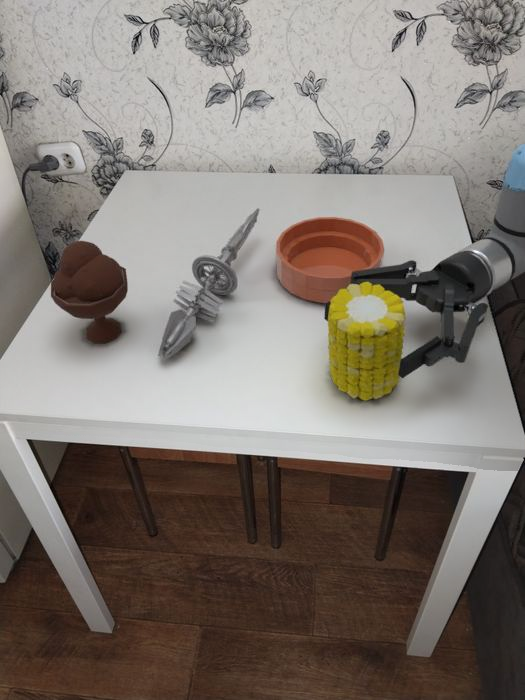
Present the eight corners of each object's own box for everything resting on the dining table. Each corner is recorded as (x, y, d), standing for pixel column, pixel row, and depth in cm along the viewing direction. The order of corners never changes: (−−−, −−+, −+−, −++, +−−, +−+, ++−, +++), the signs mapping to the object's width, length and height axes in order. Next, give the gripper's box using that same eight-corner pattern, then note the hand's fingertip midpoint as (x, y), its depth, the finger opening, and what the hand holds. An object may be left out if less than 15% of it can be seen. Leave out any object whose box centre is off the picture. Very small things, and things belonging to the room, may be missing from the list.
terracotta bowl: (398, 265, 100) (403, 237, 96) (344, 320, 90) (347, 291, 86) (314, 233, 108) (315, 206, 104) (256, 280, 98) (254, 253, 94)
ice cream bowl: (53, 346, 88) (21, 264, 78) (95, 302, 95) (70, 221, 85) (113, 364, 85) (88, 280, 75) (152, 316, 92) (134, 234, 82)
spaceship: (284, 204, 100) (243, 182, 100) (192, 354, 80) (140, 326, 80) (271, 235, 106) (232, 214, 106) (182, 381, 86) (134, 356, 86)
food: (408, 384, 82) (357, 423, 78) (349, 329, 87) (298, 364, 83) (444, 318, 70) (385, 361, 66) (373, 258, 74) (314, 295, 70)
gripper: (539, 340, 79) (432, 417, 71) (401, 257, 94) (299, 312, 85) (556, 297, 74) (443, 374, 65) (408, 216, 89) (299, 270, 80)
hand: (361, 339), depth 75 cm, fingers open, 13 cm apart
